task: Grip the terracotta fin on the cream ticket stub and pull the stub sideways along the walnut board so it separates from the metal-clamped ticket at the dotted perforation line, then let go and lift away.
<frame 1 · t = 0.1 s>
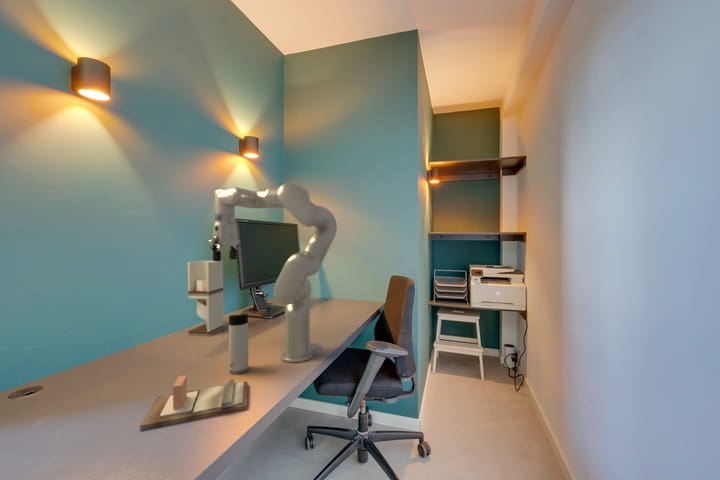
hand: (225, 260, 121), 37 cm above the table, tool pointing down, fingers open, 9 cm apart
ticket board: (201, 404, 81), on the table
display case: (206, 332, 144), on the table
stub: (180, 392, 79), point 4 cm above the table, slide at 0.0 cm
travel mug: (239, 370, 102), on the table
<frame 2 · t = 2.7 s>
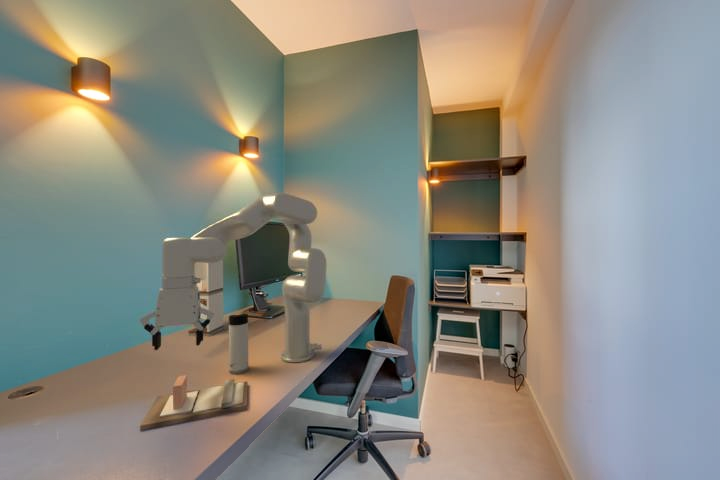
hand: (178, 346, 79), 17 cm above the table, tool pointing down, fingers open, 9 cm apart
nothing on the table moved.
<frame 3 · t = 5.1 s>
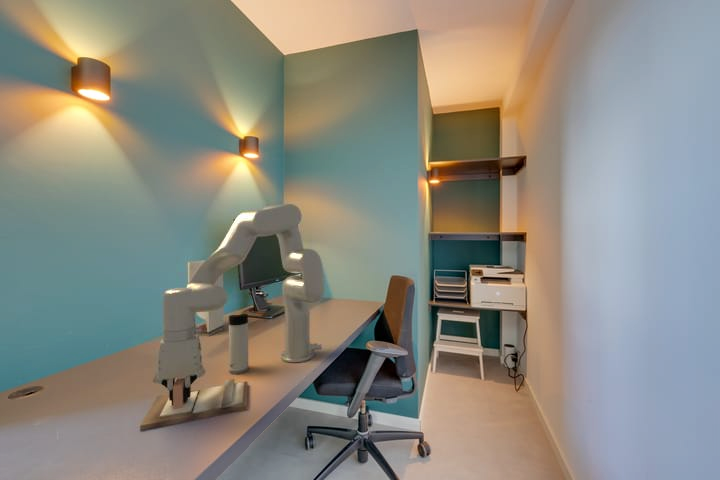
hand: (180, 400, 79), 2 cm above the table, tool pointing down, fingers closed on stub, 2 cm apart
stub: (180, 392, 79), point 4 cm above the table, slide at 0.0 cm, touching gripper
everything else where it was.
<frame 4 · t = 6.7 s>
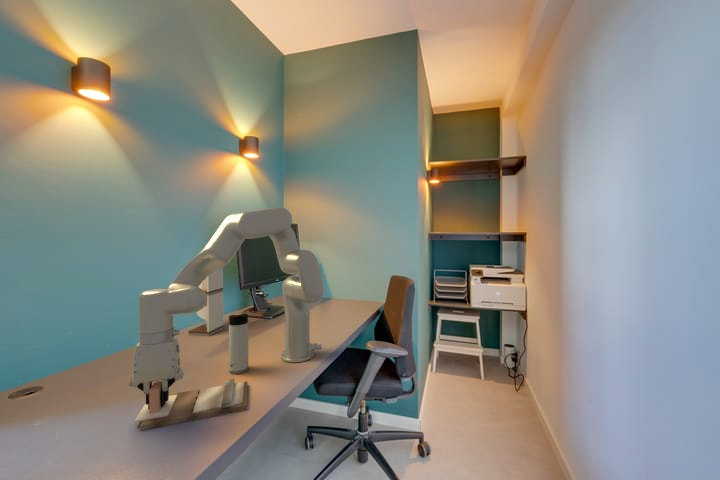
hand: (157, 404, 77), 2 cm above the table, tool pointing down, fingers closed on stub, 2 cm apart
stub: (157, 396, 77), point 4 cm above the table, slide at 5.3 cm, touching gripper
everything else where it was.
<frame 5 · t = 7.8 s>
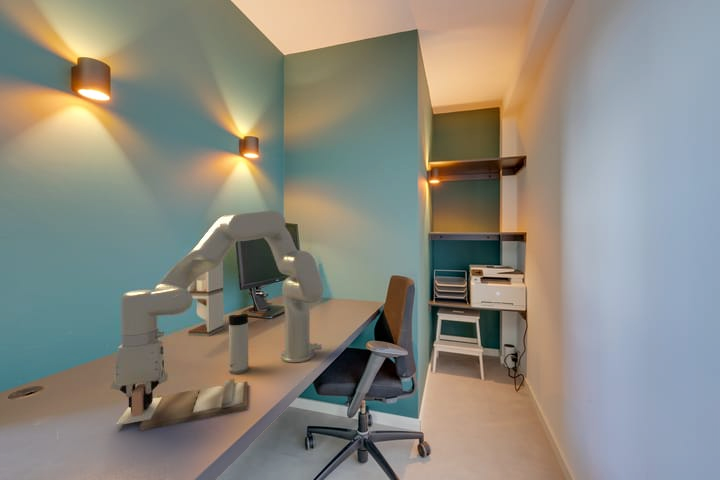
hand: (140, 407, 76), 2 cm above the table, tool pointing down, fingers closed on stub, 2 cm apart
stub: (140, 398, 76), point 4 cm above the table, slide at 8.9 cm, touching gripper
everything else where it was.
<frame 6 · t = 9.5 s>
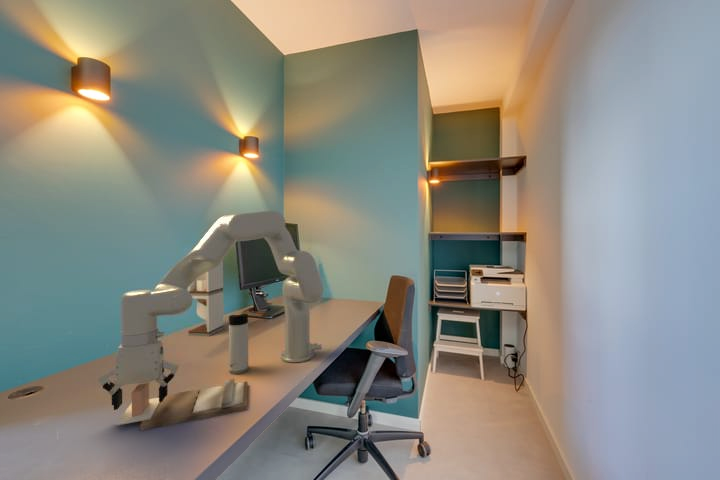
hand: (140, 403, 76), 3 cm above the table, tool pointing down, fingers open, 9 cm apart
stub: (140, 398, 76), point 4 cm above the table, slide at 9.0 cm
everything else where it was.
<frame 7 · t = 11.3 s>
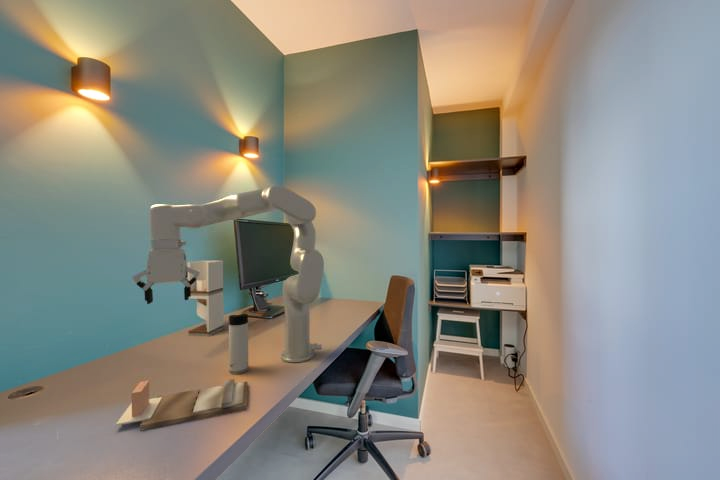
hand: (168, 301, 89), 27 cm above the table, tool pointing down, fingers open, 9 cm apart
nothing on the table moved.
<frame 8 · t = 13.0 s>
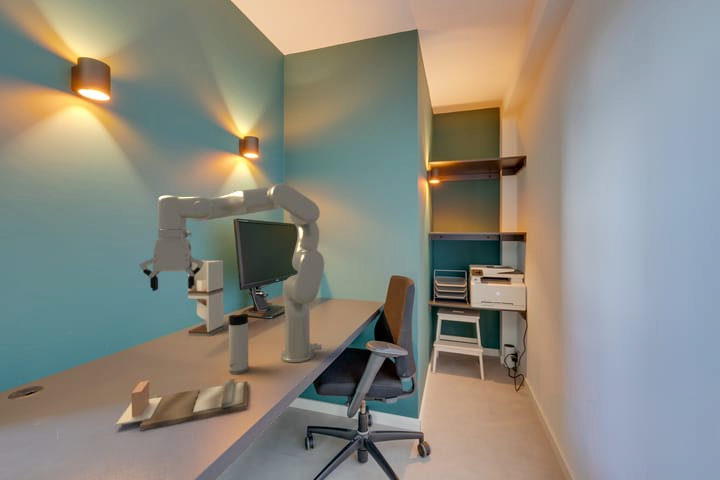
hand: (173, 289, 92), 30 cm above the table, tool pointing down, fingers open, 9 cm apart
nothing on the table moved.
at the end: stub slide at 9.0 cm; the gripper is holding nothing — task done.
